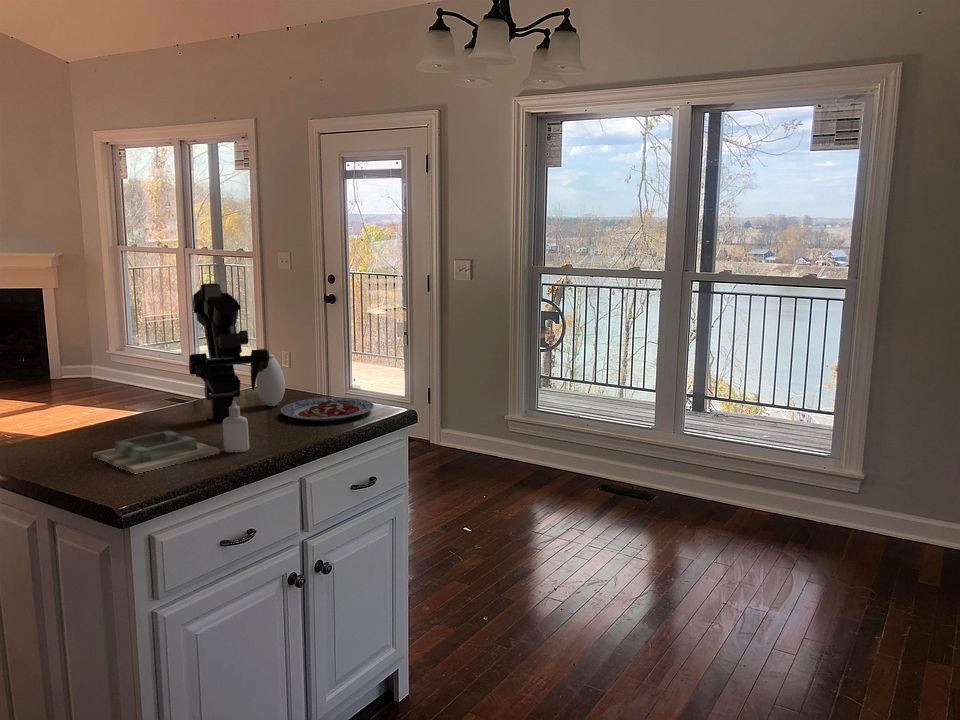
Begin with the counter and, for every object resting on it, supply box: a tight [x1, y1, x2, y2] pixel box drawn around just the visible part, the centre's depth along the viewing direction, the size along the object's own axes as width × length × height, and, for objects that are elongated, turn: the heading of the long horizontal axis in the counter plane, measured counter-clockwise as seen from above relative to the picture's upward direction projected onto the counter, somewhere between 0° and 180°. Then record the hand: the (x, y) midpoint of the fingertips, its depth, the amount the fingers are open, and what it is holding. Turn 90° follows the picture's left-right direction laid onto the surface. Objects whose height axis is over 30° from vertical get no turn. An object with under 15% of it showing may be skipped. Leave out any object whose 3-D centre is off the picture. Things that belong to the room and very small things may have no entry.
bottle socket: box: [93, 429, 220, 475], centre depth 178 cm, size 20×20×4 cm
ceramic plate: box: [280, 396, 375, 422], centre depth 217 cm, size 26×26×3 cm
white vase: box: [256, 345, 286, 407], centre depth 226 cm, size 8×8×18 cm
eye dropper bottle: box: [222, 400, 250, 453], centre depth 180 cm, size 4×6×12 cm
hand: (234, 391), depth 187 cm, fingers open, 9 cm apart
